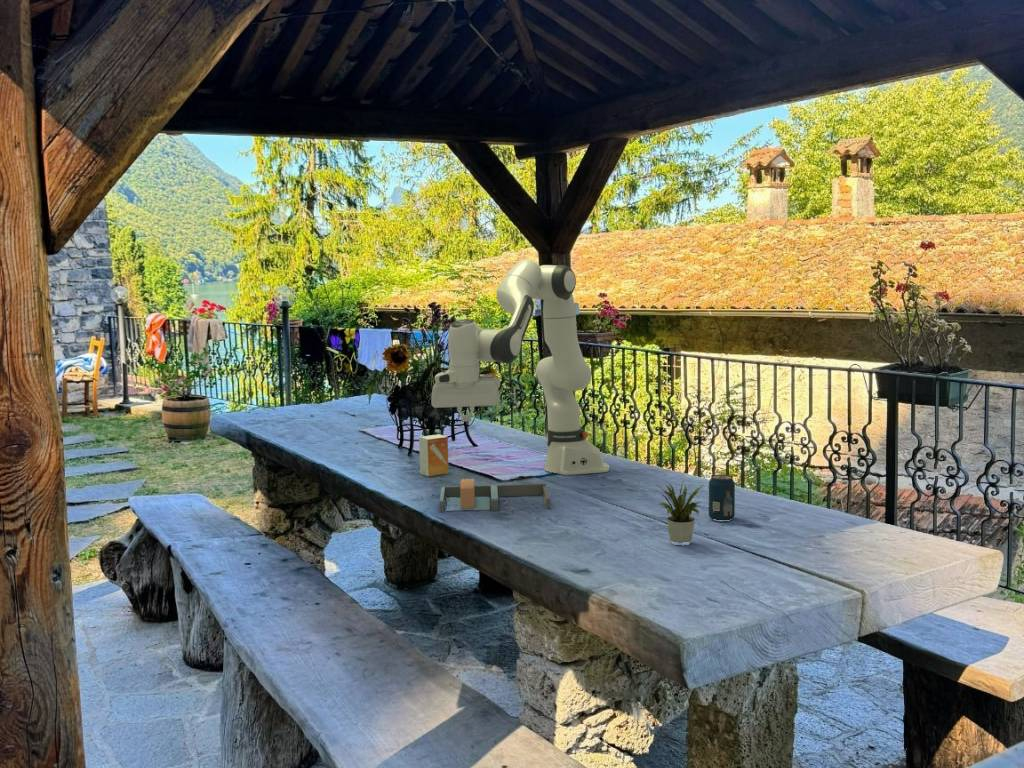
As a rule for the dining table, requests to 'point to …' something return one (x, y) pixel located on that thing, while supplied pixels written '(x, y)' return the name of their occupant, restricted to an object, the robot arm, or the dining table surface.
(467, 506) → the long orange rectangular block
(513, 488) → the gate frame with panel
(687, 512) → the house plant
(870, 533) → the dining table surface
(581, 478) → the dining table surface
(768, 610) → the dining table surface
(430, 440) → the small box
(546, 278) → the robot arm
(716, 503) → the soda can
